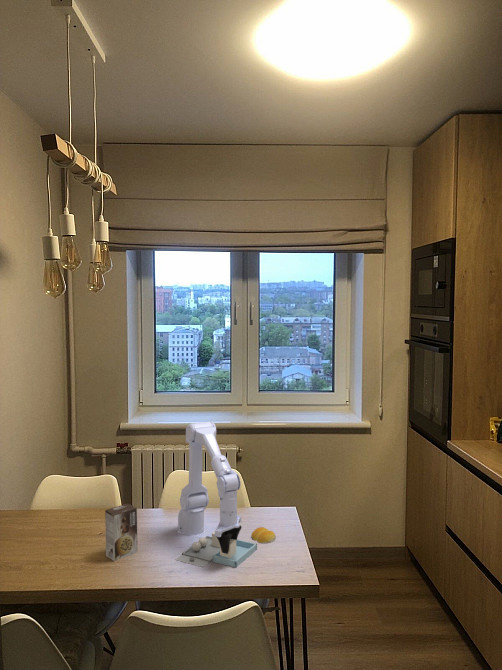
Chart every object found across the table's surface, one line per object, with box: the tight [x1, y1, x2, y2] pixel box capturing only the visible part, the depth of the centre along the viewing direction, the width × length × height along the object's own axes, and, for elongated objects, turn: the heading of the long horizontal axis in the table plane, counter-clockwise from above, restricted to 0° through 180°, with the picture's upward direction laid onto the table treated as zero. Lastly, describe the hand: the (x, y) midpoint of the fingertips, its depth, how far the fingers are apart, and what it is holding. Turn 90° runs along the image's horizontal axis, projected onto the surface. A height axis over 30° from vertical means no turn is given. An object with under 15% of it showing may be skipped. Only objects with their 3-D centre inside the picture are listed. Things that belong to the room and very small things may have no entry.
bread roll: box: [251, 526, 276, 544], centre depth 192 cm, size 8×9×4 cm
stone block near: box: [220, 539, 236, 558], centre depth 174 cm, size 4×4×4 cm
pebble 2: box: [197, 536, 207, 547], centre depth 184 cm, size 3×3×3 cm
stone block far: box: [211, 531, 220, 548], centre depth 186 cm, size 4×4×4 cm
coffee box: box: [104, 503, 139, 562], centre depth 179 cm, size 9×6×16 cm
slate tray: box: [174, 535, 220, 568], centre depth 181 cm, size 12×20×1 cm, turn 152°
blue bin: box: [212, 538, 258, 569], centre depth 178 cm, size 9×15×2 cm, turn 152°
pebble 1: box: [191, 541, 201, 552], centre depth 181 cm, size 3×3×3 cm
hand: (228, 550), depth 173 cm, fingers closed on stone block near, 4 cm apart
